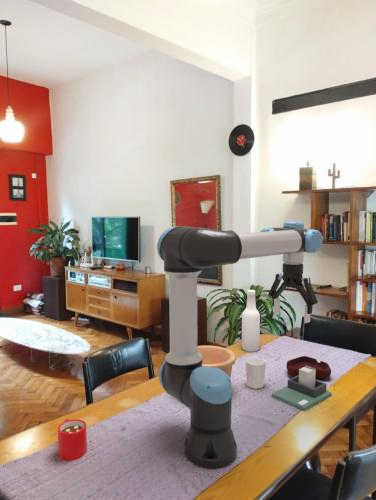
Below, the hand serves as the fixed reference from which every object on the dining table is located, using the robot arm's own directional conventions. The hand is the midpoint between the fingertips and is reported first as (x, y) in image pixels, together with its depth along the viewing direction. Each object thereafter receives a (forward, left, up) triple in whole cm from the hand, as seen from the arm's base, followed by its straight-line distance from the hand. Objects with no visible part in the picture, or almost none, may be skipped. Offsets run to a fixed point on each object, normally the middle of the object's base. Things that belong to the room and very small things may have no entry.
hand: (291, 318), depth 149 cm
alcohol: (+24, +40, -29) cm, 55 cm away
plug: (+4, -5, -28) cm, 28 cm away
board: (0, -6, -29) cm, 29 cm away
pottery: (-24, +21, -29) cm, 43 cm away
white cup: (-6, +12, -29) cm, 32 cm away
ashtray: (+20, +5, -29) cm, 36 cm away
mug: (-80, +20, -29) cm, 87 cm away
